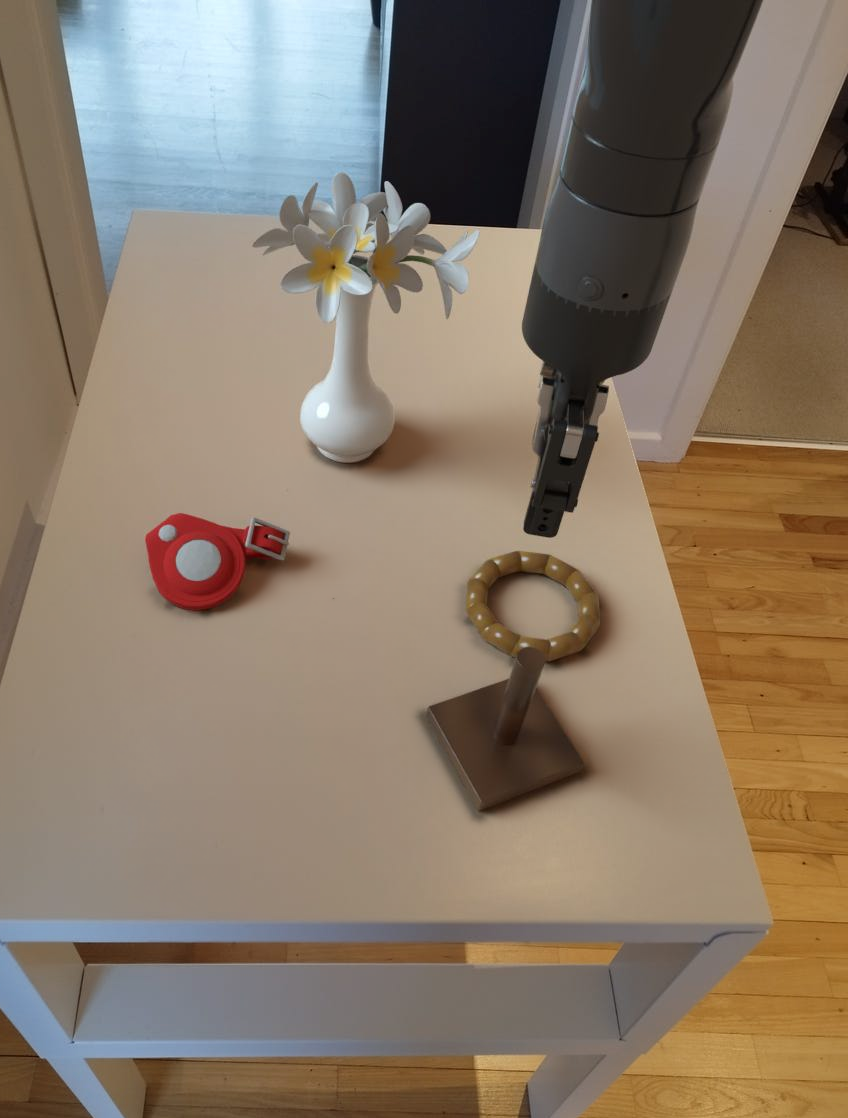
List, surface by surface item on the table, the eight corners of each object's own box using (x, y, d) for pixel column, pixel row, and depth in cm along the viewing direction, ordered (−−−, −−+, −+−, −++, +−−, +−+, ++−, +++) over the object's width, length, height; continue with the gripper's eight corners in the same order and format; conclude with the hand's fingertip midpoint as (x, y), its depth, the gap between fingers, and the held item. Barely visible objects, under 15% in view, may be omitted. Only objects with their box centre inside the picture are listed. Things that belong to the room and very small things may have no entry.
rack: (522, 682, 75) (553, 593, 66) (580, 771, 70) (621, 689, 61) (425, 716, 73) (443, 628, 64) (478, 811, 68) (505, 731, 59)
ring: (553, 547, 85) (557, 534, 83) (621, 640, 79) (627, 627, 77) (442, 581, 81) (445, 567, 80) (505, 680, 75) (509, 668, 74)
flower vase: (454, 477, 90) (499, 235, 70) (267, 491, 87) (258, 243, 67) (427, 394, 97) (460, 154, 77) (254, 404, 95) (242, 158, 75)
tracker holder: (194, 625, 75) (115, 543, 77) (200, 641, 80) (125, 563, 81) (301, 534, 78) (223, 457, 80) (301, 554, 83) (228, 481, 84)
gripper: (680, 354, 44) (595, 574, 57) (672, 210, 53) (600, 429, 66) (526, 330, 45) (477, 554, 58) (544, 191, 53) (497, 413, 66)
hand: (543, 487), depth 62 cm, fingers open, 8 cm apart
